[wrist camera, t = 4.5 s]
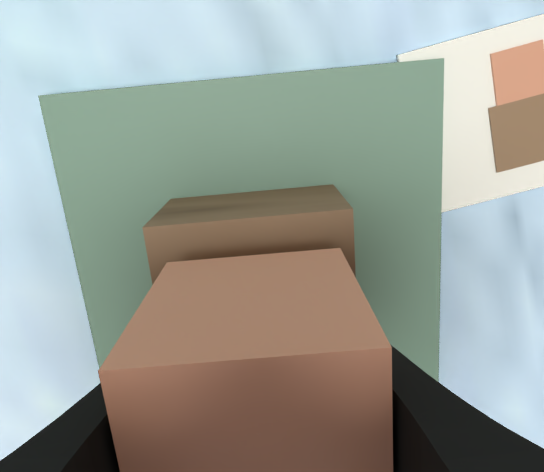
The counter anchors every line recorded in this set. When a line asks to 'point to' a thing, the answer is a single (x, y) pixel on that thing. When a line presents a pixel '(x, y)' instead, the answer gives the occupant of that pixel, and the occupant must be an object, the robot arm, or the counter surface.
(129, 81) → the counter surface
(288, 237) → the walnut brick
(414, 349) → the plate
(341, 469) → the terracotta brick
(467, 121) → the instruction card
